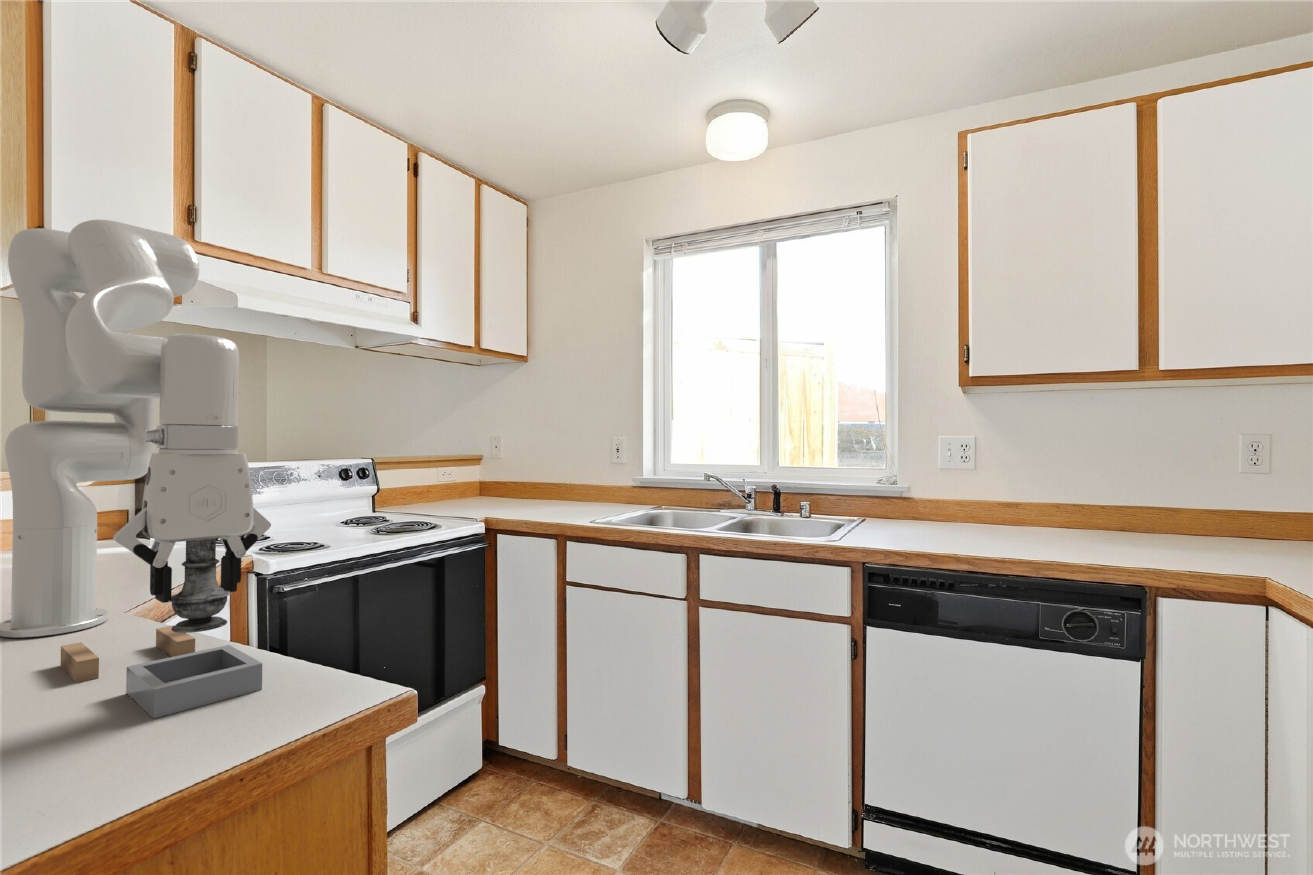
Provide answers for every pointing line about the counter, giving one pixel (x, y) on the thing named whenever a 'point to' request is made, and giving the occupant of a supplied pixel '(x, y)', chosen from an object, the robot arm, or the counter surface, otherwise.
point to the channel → (86, 663)
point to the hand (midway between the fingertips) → (197, 593)
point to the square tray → (192, 680)
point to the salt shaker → (199, 590)
